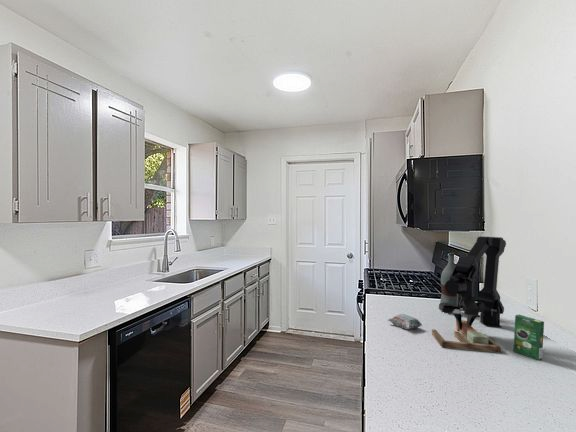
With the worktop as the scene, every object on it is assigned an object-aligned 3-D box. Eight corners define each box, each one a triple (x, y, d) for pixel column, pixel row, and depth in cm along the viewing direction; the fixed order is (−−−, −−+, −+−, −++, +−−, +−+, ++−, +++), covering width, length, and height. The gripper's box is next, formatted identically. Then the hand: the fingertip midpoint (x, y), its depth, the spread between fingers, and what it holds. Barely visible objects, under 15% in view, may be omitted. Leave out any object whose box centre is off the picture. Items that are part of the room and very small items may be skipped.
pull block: (467, 330, 132) (467, 320, 132) (488, 348, 113) (488, 337, 113) (454, 329, 133) (454, 319, 133) (473, 347, 114) (473, 336, 114)
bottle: (464, 313, 157) (465, 253, 157) (454, 316, 152) (456, 254, 152) (445, 308, 164) (447, 252, 165) (436, 311, 159) (437, 252, 160)
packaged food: (408, 333, 127) (408, 321, 127) (386, 324, 137) (386, 313, 137) (422, 330, 131) (423, 318, 131) (400, 322, 141) (400, 311, 141)
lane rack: (484, 339, 122) (484, 333, 122) (501, 352, 110) (501, 347, 110) (431, 334, 126) (431, 329, 126) (441, 347, 113) (441, 341, 113)
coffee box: (544, 359, 105) (544, 320, 105) (539, 361, 104) (540, 321, 104) (518, 350, 112) (518, 313, 112) (513, 351, 111) (514, 314, 111)
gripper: (447, 295, 123) (446, 334, 122) (499, 298, 119) (498, 339, 119) (438, 289, 134) (438, 325, 133) (486, 292, 130) (485, 329, 130)
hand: (464, 330), depth 129 cm, fingers closed on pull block, 2 cm apart
